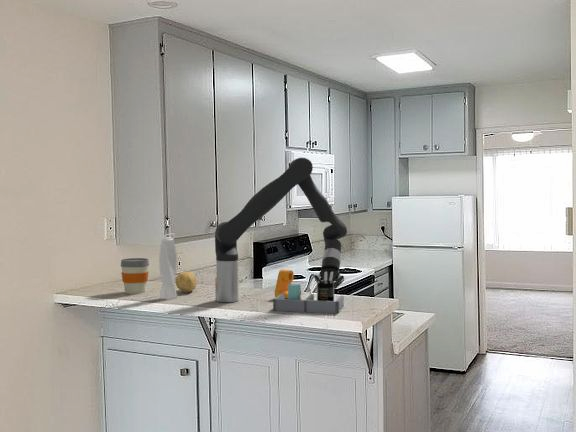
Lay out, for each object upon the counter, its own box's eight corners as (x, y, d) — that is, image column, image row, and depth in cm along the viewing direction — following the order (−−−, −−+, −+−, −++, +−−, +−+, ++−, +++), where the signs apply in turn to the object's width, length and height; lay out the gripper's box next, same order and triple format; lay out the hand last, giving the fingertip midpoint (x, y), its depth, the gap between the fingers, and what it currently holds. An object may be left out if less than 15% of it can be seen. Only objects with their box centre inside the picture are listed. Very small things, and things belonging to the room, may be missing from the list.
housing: (281, 303, 255) (281, 282, 255) (343, 306, 249) (343, 284, 249) (273, 310, 241) (273, 287, 241) (338, 313, 236) (338, 289, 235)
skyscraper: (169, 295, 274) (168, 232, 273) (181, 297, 270) (180, 233, 269) (155, 298, 268) (155, 233, 267) (168, 300, 264) (167, 234, 262)
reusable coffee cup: (153, 292, 283) (153, 260, 282) (126, 295, 276) (126, 261, 275) (143, 289, 293) (142, 257, 292) (117, 291, 286) (116, 259, 285)
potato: (169, 293, 281) (169, 272, 280) (186, 288, 294) (186, 268, 293) (188, 295, 277) (188, 273, 276) (205, 290, 290) (204, 269, 290)
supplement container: (335, 309, 242) (335, 283, 242) (318, 310, 242) (318, 283, 241) (332, 306, 249) (332, 280, 249) (316, 306, 249) (316, 281, 248)
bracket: (288, 300, 264) (288, 272, 263) (274, 298, 268) (274, 270, 267) (302, 296, 273) (302, 269, 272) (288, 295, 277) (288, 268, 276)
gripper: (314, 255, 259) (309, 289, 248) (346, 256, 256) (342, 290, 245) (316, 266, 265) (311, 300, 253) (347, 267, 262) (344, 301, 251)
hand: (326, 295), depth 249 cm, fingers closed
